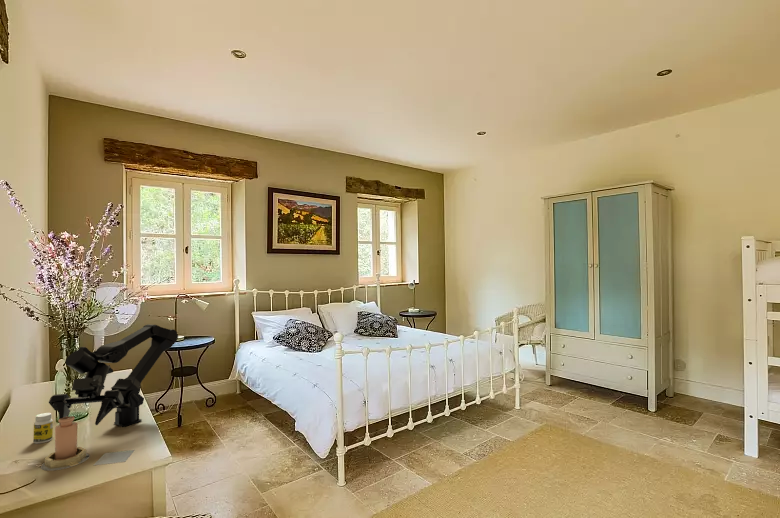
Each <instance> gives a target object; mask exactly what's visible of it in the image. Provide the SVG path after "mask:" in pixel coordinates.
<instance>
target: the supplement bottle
mask: <svg viewBox="0 0 780 518" xmlns="http://www.w3.org/2000/svg"><path fill="white" fill-rule="evenodd" d="M52 417H53V415H52V413H51V412H44V413H40V414H39V413H38V414H37V415H35V417H34V418H35V421H34V422H33V440H32V441H33V443H34V444H38V445H39V444H44V443H45V444H46V443H48V442H50V441H51V440H52V439H53V438H54V437H53V434H54V432H53V429H54V427H53V426H54V419H52Z"/></svg>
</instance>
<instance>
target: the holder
mask: <svg viewBox="0 0 780 518" xmlns="http://www.w3.org/2000/svg"><path fill="white" fill-rule="evenodd" d="M90 457H91V455H90V453H88V452H87V449H86V448H85V447H84V448H83V447H81V446H77V455H75V456H72V457H69V458H66V459H58V460H55V451H54V452H51V453H49V455H47V456H46V457H45V458H44V462H43V463H42V464H41V465H42V466H41V465H40V470H42V471H48V472H49V471H51V472H52V471H59V470H64V469H65V470H66V469H68V468H72V467H75V466H78V465H80V464H82V463H84V462H86V461H88V459H89V458H90Z"/></svg>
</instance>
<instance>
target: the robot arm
mask: <svg viewBox="0 0 780 518" xmlns="http://www.w3.org/2000/svg"><path fill="white" fill-rule="evenodd" d="M148 339H151V340H150V341H151V342H150V347H149V348H148V349H147V351H146V352H145V354H144V355H143V356H142V357H141V358H140V360H139V361H138V363H137V364H136V366H135V367H134V368H133V369H132V370H131V372H130V373H129V374H128V376H127V377H125V378H118V379H117V380H116V381H115V384H114V385H113V386H112V387H110V389H109V390H106V391H104V394H101V393H102V391H103V390H105V382H106V378H107V376H108V375H109V374H112V373H114V369H113V368H112V366H111V365H108V364H107V363H109V364H116V363H119V362H120V361H122V360H123V358H125V357H126V356H127V355H128V352H129V351H130V350H132V349H134V348H135V347H136V346H138V345H140V344H141V343H143V342H145V341H146V340H148ZM178 339H179V333H178V331H177V330H176V329H170V328H166V327H162V326H159V325H158V324H151V323H150V324H145V325H143V326H142V327H141V328H139V329H137V330H135V331H134V332H133V333H130V334H129V335H127V336H125V337H124V338H122V339H120V340H117V341H114V342H113V341H112V342H109V343H106V344H103V345H101V346H98V348H97V349H96V350H95V351H91V350H90V349H89V348H88V347H86V346H80V347H79V348H78V349H77V350H75V351H72V352H71V353H70V354H69V355H68V356H67V357H66V359H65V365H66V366H68V367H69V368H71V369H72V370H74V371H76V372H77V373H79V374H85V375H84V378H74V379H73V383H72V387H71V390H72V391H75V392H74V394H75V395H76V396H75V397H70V396H69V395H68V393H57V394H53V395H51V397H50V399H49V401H48V404H49V405H50V406H51V408H52V409H53V410H54V411H56V412H58V420H59V419H60V418H63V417H68V416H69V414H70V412H71V410H70V408H71V407H72V405H78V404H90V403H100V408H99V411H98V413H97V416H96V419H95V423H94V424H95V426H98V425H99V424H100V423H101V422H102V421H103V419H104V418H106V416H107V415H108V414H110V413H111V412H112V411H113V409H116V411H115V413H114V422H113V424H114V425H117V426H120V427H126V426H132V425H133V424H137V423H139V422H142V419H141V418H140V406H142V405H143V404H144V401H145V398H144V397H143V396H142V395H141V394H140V392H141V384H142V382H143V381H144V379H145V378H146V377H147V375H148V373H149V372H150V371H151V369H152V368H153V367H154V365H156V363H157V361H158V360H159V358H160V357H161V356H162V354H163V353H164V352H165V351H166V350H168V349H170V348H172V347H173V345H175V344H176V342H177V341H178ZM58 423H59V422H58ZM58 425H60V423H59V424H58Z"/></svg>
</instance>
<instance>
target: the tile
mask: <svg viewBox="0 0 780 518" xmlns="http://www.w3.org/2000/svg"><path fill="white" fill-rule="evenodd" d="M135 451H136V450H135V449H132V450H131V449H130V450H123V451H122V450H121V451H113V452H104V453H103V455H101V457H99V459H98V460H97V461H95V463H93V464H92V465H93V466H101V465H110V464H118V463H119V464H120V463H125V462H126V461H128V460H129V458H130V457H131V456H132V454H133V453H135Z"/></svg>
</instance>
